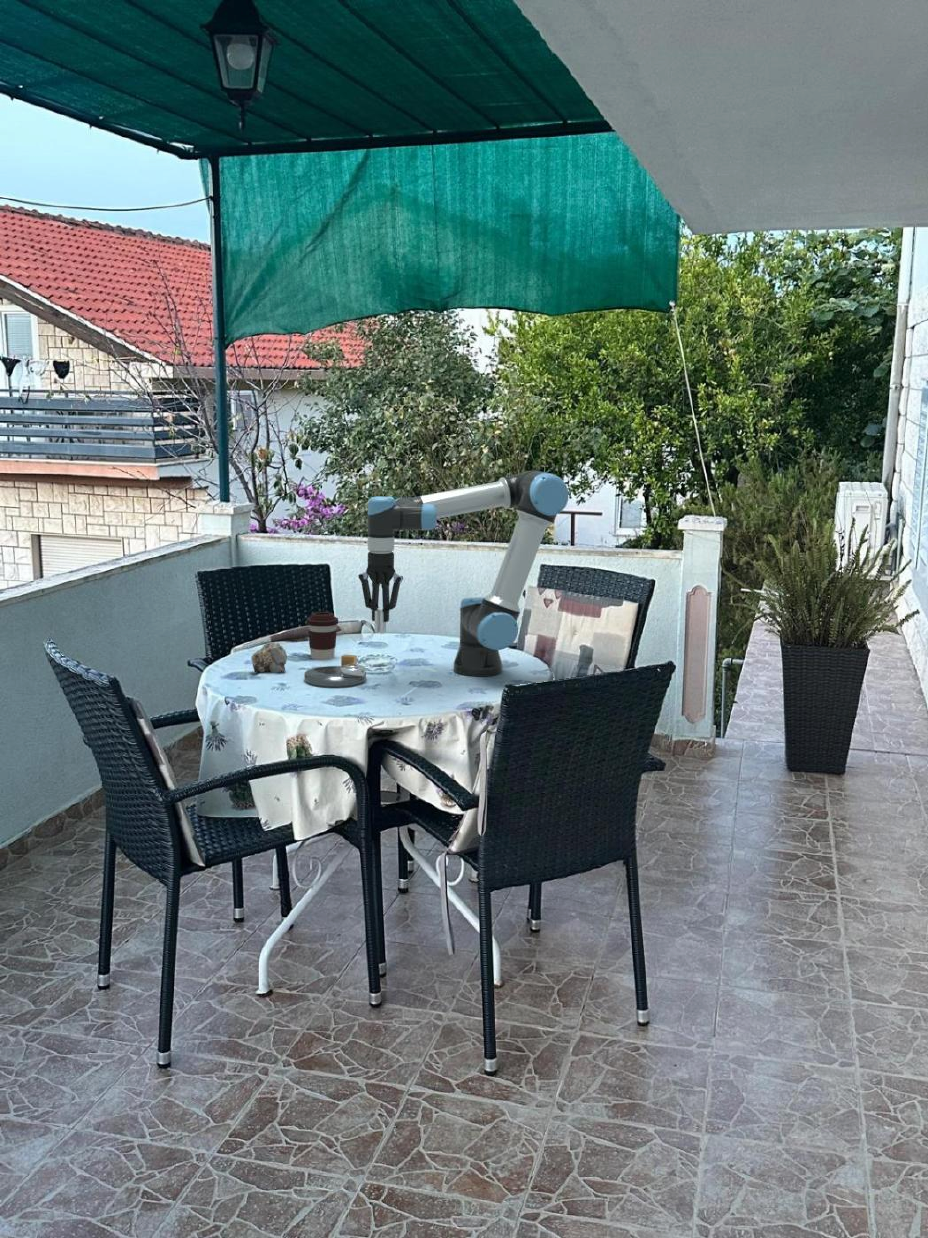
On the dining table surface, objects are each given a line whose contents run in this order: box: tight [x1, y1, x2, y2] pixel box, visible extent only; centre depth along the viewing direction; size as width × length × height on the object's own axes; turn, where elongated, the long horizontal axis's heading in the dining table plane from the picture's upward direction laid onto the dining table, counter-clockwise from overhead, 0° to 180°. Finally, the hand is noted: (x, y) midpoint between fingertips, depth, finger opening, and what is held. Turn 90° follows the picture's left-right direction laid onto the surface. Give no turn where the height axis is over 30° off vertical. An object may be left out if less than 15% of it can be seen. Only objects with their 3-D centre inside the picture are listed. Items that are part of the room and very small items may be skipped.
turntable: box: [303, 654, 367, 689], centre depth 343 cm, size 18×21×5 cm
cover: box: [340, 663, 366, 678], centre depth 340 cm, size 7×7×3 cm
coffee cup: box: [306, 611, 339, 661], centre depth 368 cm, size 10×10×15 cm
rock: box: [250, 641, 288, 675], centre depth 351 cm, size 9×12×10 cm
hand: (380, 632), depth 335 cm, fingers closed
